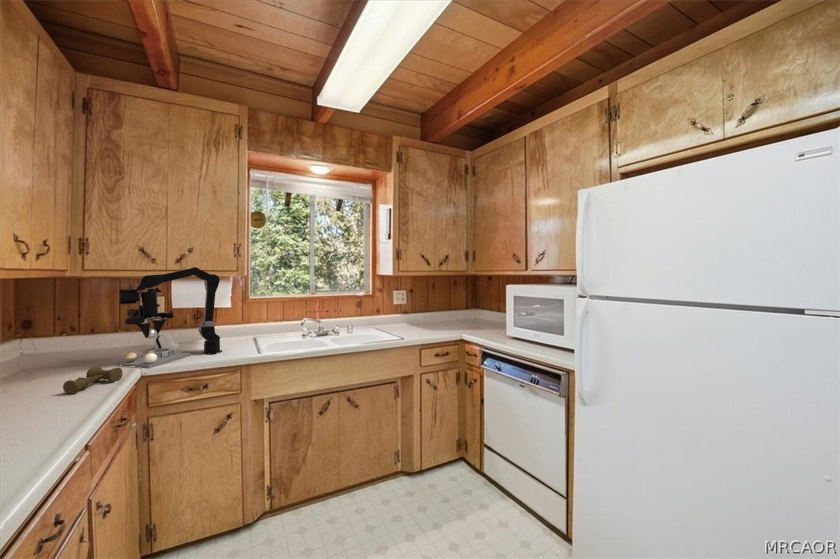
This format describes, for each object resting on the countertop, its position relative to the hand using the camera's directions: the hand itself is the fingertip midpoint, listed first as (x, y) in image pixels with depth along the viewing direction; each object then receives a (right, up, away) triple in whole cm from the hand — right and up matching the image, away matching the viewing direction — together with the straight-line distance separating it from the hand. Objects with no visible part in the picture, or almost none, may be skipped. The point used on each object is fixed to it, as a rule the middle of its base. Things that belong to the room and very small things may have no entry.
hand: (151, 336), depth 160 cm
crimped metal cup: (0, -10, +7) cm, 12 cm away
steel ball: (0, +1, 0) cm, 1 cm away
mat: (+1, -12, +2) cm, 12 cm away
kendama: (+3, -13, -31) cm, 34 cm away
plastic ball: (+5, -8, -7) cm, 12 cm away
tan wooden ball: (-6, -8, -5) cm, 11 cm away
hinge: (-9, -11, +22) cm, 26 cm away
